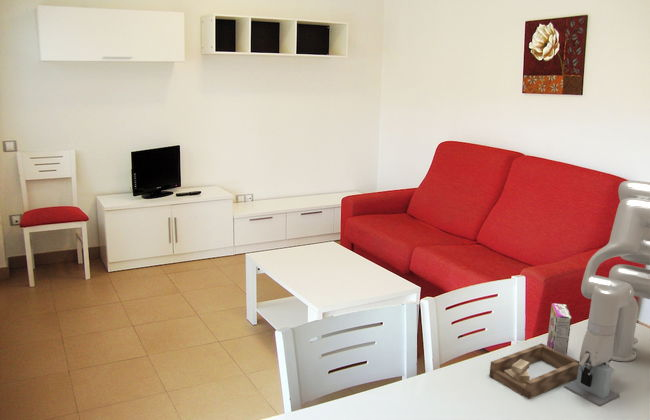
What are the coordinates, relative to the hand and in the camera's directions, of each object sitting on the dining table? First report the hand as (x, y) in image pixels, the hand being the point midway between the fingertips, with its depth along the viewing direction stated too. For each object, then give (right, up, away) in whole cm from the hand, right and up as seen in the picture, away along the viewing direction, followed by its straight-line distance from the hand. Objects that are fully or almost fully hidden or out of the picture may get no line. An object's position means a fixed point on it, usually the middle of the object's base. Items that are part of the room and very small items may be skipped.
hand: (593, 381), depth 186 cm
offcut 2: (-20, 0, +5) cm, 21 cm away
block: (0, -3, +1) cm, 3 cm away
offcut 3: (-21, -2, +5) cm, 22 cm away
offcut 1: (-21, +2, +4) cm, 21 cm away
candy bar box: (-3, +2, +24) cm, 24 cm away
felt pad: (0, -4, +1) cm, 4 cm away
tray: (-15, -1, +9) cm, 17 cm away
